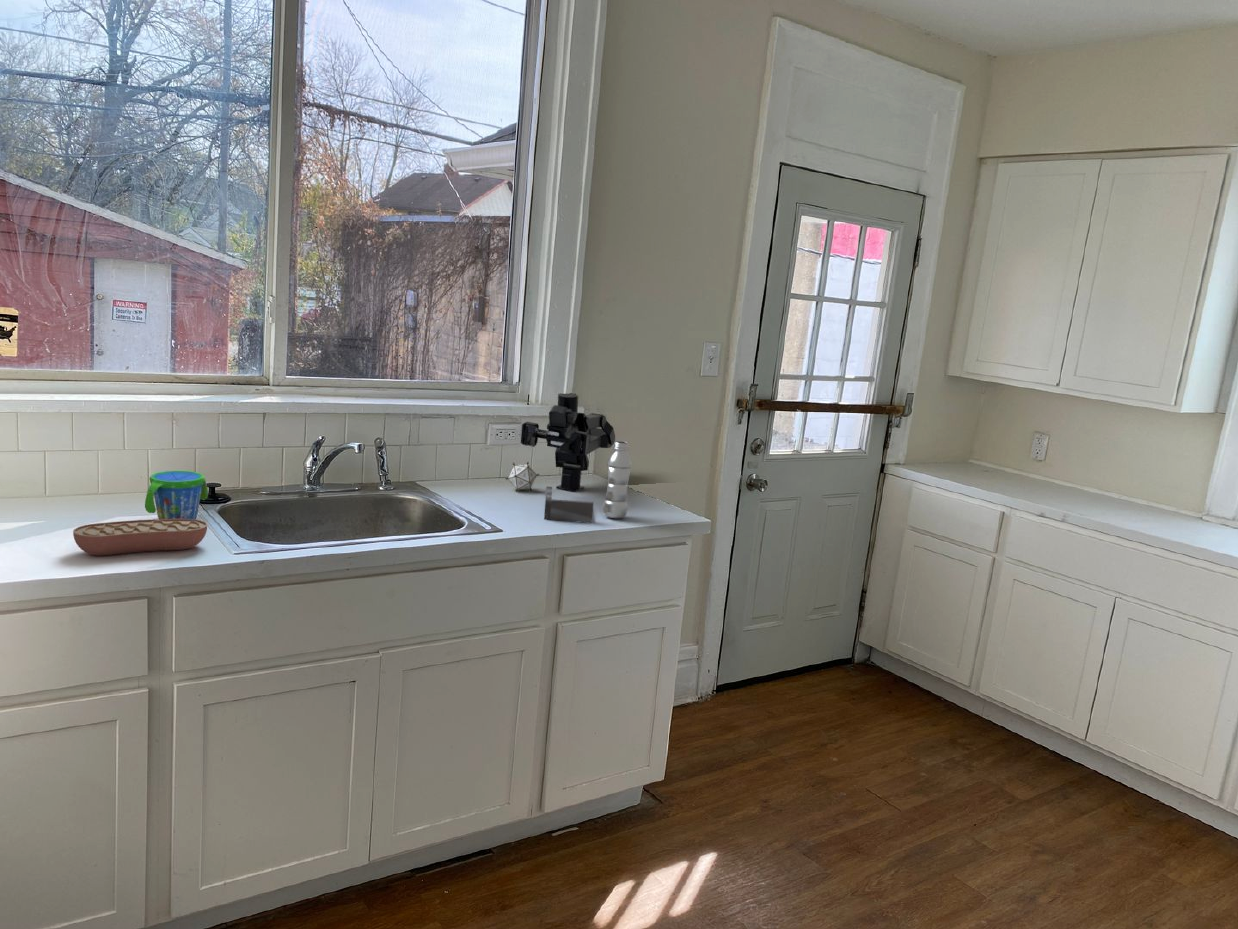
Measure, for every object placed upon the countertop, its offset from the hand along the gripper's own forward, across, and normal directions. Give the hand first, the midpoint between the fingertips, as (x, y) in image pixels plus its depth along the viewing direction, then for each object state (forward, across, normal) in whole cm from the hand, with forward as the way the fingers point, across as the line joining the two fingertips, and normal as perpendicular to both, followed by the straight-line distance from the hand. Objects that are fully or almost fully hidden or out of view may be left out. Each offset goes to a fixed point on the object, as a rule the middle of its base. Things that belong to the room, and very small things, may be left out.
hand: (544, 446), depth 236 cm
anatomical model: (+83, -52, +10) cm, 98 cm away
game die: (-12, -10, +18) cm, 24 cm away
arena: (+5, +10, +15) cm, 19 cm away
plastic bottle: (+2, +22, +15) cm, 27 cm away
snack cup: (+63, -61, +12) cm, 89 cm away
